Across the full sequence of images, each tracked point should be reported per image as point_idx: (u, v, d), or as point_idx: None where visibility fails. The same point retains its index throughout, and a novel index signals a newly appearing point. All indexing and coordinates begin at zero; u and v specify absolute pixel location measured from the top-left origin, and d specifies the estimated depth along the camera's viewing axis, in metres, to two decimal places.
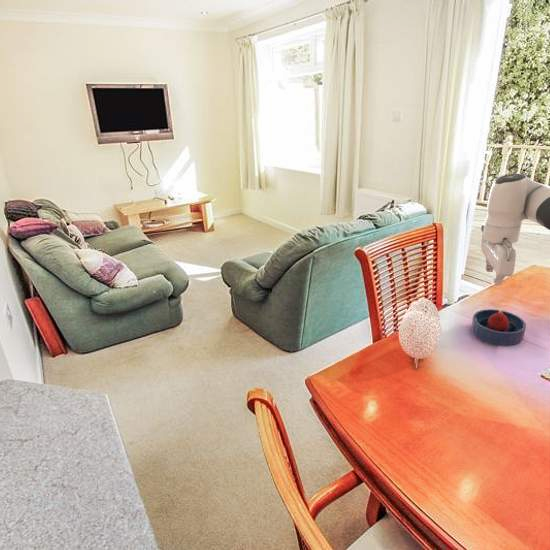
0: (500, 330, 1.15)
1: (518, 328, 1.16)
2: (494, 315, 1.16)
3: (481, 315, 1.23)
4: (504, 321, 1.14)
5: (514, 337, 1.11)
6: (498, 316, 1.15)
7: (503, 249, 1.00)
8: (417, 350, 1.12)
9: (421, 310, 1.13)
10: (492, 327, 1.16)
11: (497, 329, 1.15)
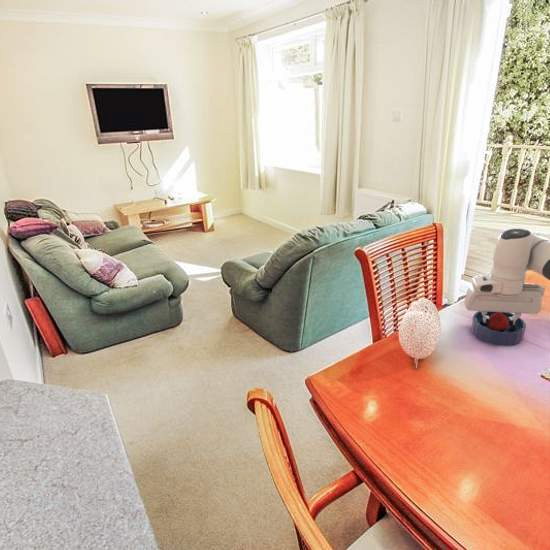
0: (500, 330, 1.15)
1: (518, 328, 1.16)
2: (494, 315, 1.16)
3: (481, 315, 1.23)
4: (504, 321, 1.14)
5: (514, 337, 1.11)
6: (497, 316, 1.15)
7: (537, 291, 1.09)
8: (417, 350, 1.12)
9: (421, 310, 1.13)
10: (492, 327, 1.16)
11: (497, 329, 1.15)
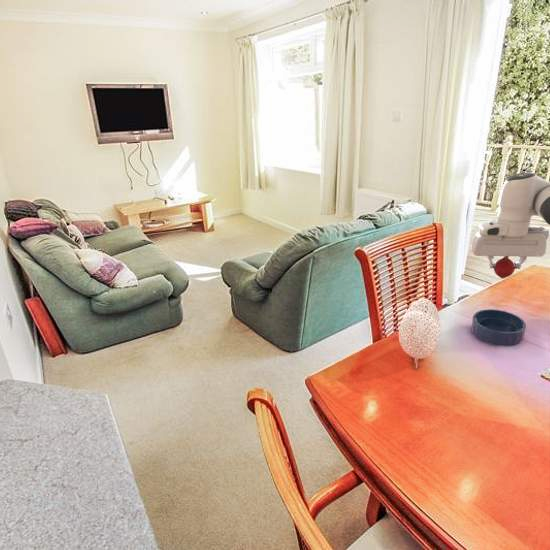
0: (506, 274, 1.19)
1: (518, 328, 1.16)
2: (500, 260, 1.20)
3: (481, 315, 1.23)
4: (510, 265, 1.18)
5: (514, 337, 1.11)
6: (503, 260, 1.19)
7: (542, 234, 1.13)
8: (417, 350, 1.12)
9: (421, 310, 1.13)
10: (498, 272, 1.20)
11: (503, 273, 1.19)
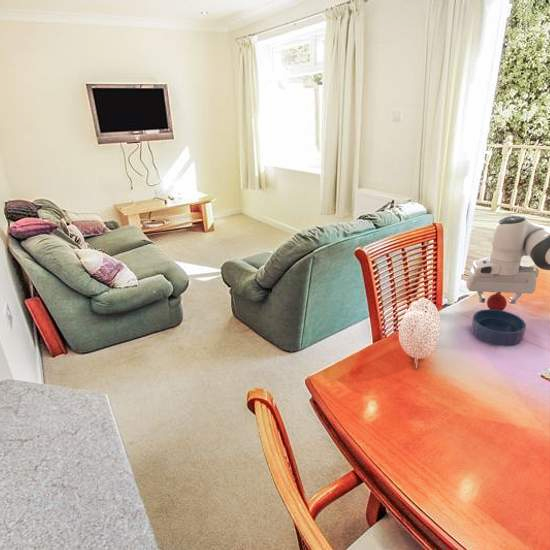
0: (498, 309, 1.26)
1: (518, 328, 1.16)
2: (493, 296, 1.27)
3: (481, 315, 1.23)
4: (502, 301, 1.26)
5: (514, 337, 1.11)
6: (496, 296, 1.26)
7: (532, 272, 1.20)
8: (417, 350, 1.12)
9: (421, 310, 1.13)
10: (491, 307, 1.27)
11: (495, 308, 1.27)
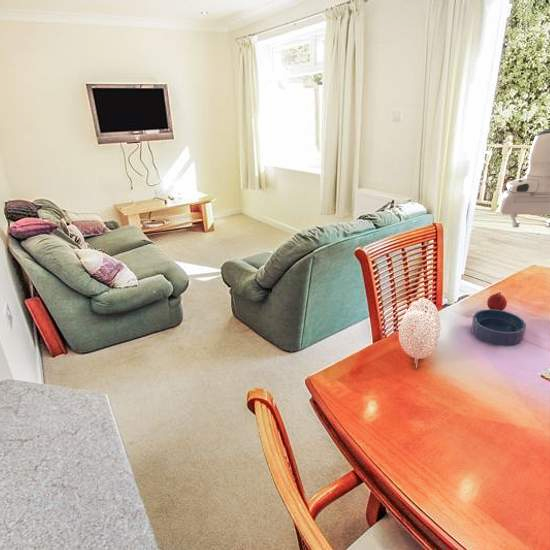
0: (498, 309, 1.26)
1: (518, 328, 1.16)
2: (493, 295, 1.27)
3: (481, 315, 1.23)
4: (502, 301, 1.26)
5: (514, 337, 1.11)
6: (496, 296, 1.26)
7: None
8: (417, 350, 1.12)
9: (421, 310, 1.13)
10: (491, 307, 1.27)
11: (496, 308, 1.27)
